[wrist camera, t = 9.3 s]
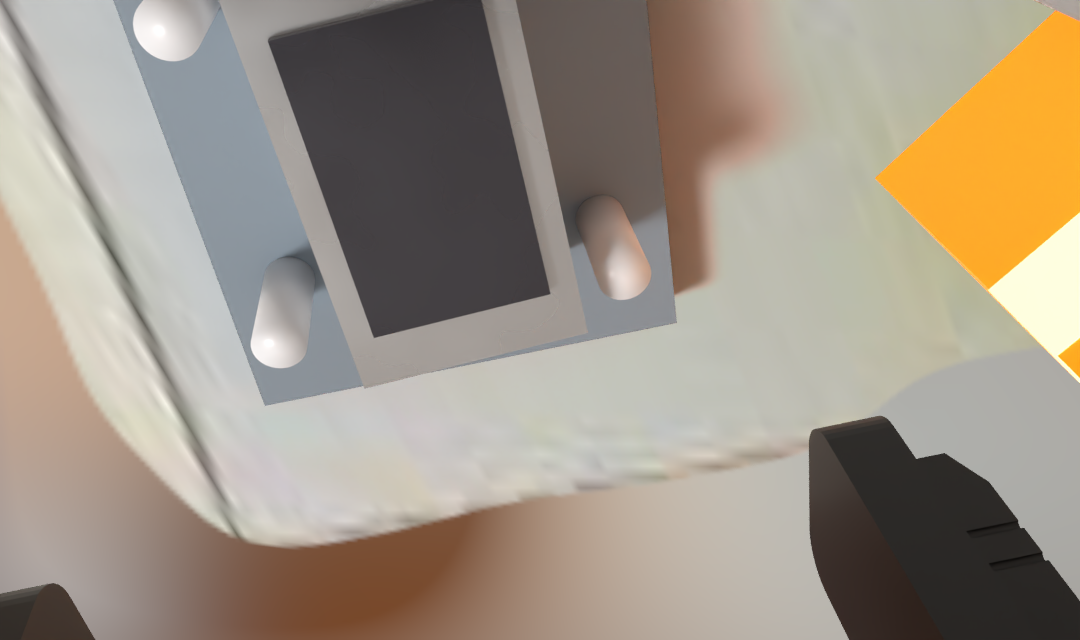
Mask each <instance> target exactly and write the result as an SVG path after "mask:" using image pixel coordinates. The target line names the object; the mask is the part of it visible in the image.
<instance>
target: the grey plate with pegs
mask: <svg viewBox="0 0 1080 640" xmlns="http://www.w3.org/2000/svg"><path fill="white" fill-rule="evenodd" d="M113 1H114V3H115V6H116V9H117V11H118V14H119V17H120V19H121V22H122V25H123V27H124V30H125V33H126V35H127V38H128V41H129V44H130V46H131V49H132V52H133V54H134V57H135V60H136V62H137V65H138V68H139V70H140V73H141V76H142V78H143V81H144V84H145V86H146V89H147V92H148V94H149V97H150V100H151V102H152V105H153V108H154V110H155V113H156V116H157V118H158V121H159V124H160V126H161V129H162V132H163V134H164V137H165V140H166V142H167V145H168V148H169V150H170V153H171V156H172V158H173V161H174V164H175V166H176V169H177V172H178V175H179V177H180V180H181V183H182V185H183V188H184V191H185V193H186V196H187V199H188V201H189V204H190V207H191V209H192V212H193V215H194V217H195V220H196V223H197V225H198V228H199V231H200V233H201V236H202V239H203V241H204V244H205V247H206V249H207V252H208V255H209V257H210V260H211V263H212V265H213V268H214V271H215V273H216V276H217V279H218V281H219V284H220V287H221V289H222V292H223V295H224V297H225V300H226V303H227V306H228V308H229V311H230V314H231V316H232V319H233V322H234V324H235V327H236V330H237V332H238V335H239V338H240V340H241V343H242V346H243V348H244V351H245V354H246V356H247V359H248V362H249V364H250V367H251V370H252V372H253V375H254V378H255V380H256V383H257V386H258V388H259V391H260V394H261V396H262V399H263V402H264V404H265V406H266V405H271V404H276V403H281V402H286V401H291V400H296V399H301V398H306V397H311V396H316V395H321V394H326V393H331V392H336V391H341V390H346V389H351V388H356V387H361V386H363V383H362V381H361V378H360V375H359V373H358V370H357V367H356V365H355V362H354V359H353V357H352V354H351V351H350V349H349V346H348V343H347V341H346V338H345V336H344V333H343V330H342V328H341V325H340V322H339V320H338V317H337V314H336V312H335V309H334V306H333V304H332V301H331V298H330V296H329V293H328V290H327V288H326V285H325V282H324V280H323V277H322V274H321V272H320V269H319V266H318V264H317V261H316V258H315V256H314V253H313V250H312V248H311V245H310V242H309V240H308V237H307V234H306V232H305V229H304V226H303V224H302V221H301V218H300V216H299V213H298V210H297V208H296V205H295V202H294V200H293V197H292V194H291V192H290V189H289V186H288V184H287V181H286V178H285V176H284V173H283V170H282V168H281V165H280V163H279V160H278V157H277V155H276V152H275V149H274V147H273V144H272V141H271V139H270V136H269V133H268V131H267V128H266V125H265V123H264V120H263V117H262V115H261V112H260V109H259V107H258V104H257V101H256V99H255V96H254V93H253V91H252V88H251V85H250V83H249V80H248V77H247V75H246V72H245V69H244V67H243V64H242V61H241V59H240V56H239V53H238V51H237V48H236V45H235V43H234V40H233V37H232V35H231V32H230V29H229V27H228V24H227V21H226V19H225V16H224V13H223V11H222V8H221V5H220V3H219V0H113ZM516 4H517V9H518V13H519V18H520V22H521V27H522V32H523V36H524V41H525V45H526V50H527V55H528V59H529V64H530V68H531V73H532V78H533V82H534V87H535V91H536V96H537V101H538V105H539V110H540V114H541V119H542V124H543V128H544V133H545V137H546V142H547V147H548V151H549V156H550V160H551V165H552V170H553V174H554V179H555V183H556V188H557V193H558V197H559V202H560V206H561V211H562V216H563V220H564V225H565V229H566V234H567V239H568V243H569V248H570V252H571V257H572V262H573V266H574V271H575V275H576V280H577V285H578V289H579V294H580V298H581V303H582V308H583V312H584V317H585V321H586V326H587V331H588V333H586V334H582V335H578V336H574V337H569V338H565V339H561V340H557V341H553V342H549V343H545V344H541V345H537V346H533V347H529V348H525V349H521V350H517V351H513V352H509V353H505V354H501V355H497V356H493V357H489V358H485V359H481V360H477V361H473V362H469V363H465V364H461V365H457V366H453V367H449V368H445V369H450V368H455V367H460V366H465V365H470V364H475V363H480V362H485V361H490V360H495V359H500V358H505V357H509V356H514V355H519V354H524V353H529V352H534V351H539V350H544V349H549V348H554V347H559V346H564V345H569V344H574V343H579V342H584V341H589V340H594V339H599V338H604V337H609V336H614V335H619V334H624V333H629V332H633V331H638V330H643V329H648V328H653V327H658V326H663V325H668V324H673V323H677V321H676V311H675V300H674V289H673V278H672V268H671V257H670V246H669V236H668V225H667V214H666V204H665V193H664V182H663V172H662V161H661V150H660V140H659V129H658V118H657V108H656V97H655V86H654V76H653V65H652V54H651V44H650V33H649V22H648V12H647V1H646V0H516ZM445 369H441V370H445ZM437 371H440V370H437ZM433 372H435V371H433ZM429 373H430V372H429Z"/></svg>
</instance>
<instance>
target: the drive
mask: <svg viewBox="0 0 1080 640" xmlns="http://www.w3.org/2000/svg"><path fill="white" fill-rule="evenodd" d="M219 3H220V5H221V8H222V11H223V13H224V16H225V19H226V21H227V24H228V27H229V29H230V32H231V35H232V37H233V40H234V43H235V45H236V48H237V51H238V53H239V56H240V59H241V61H242V64H243V67H244V69H245V72H246V75H247V77H248V80H249V83H250V85H251V88H252V91H253V93H254V96H255V99H256V101H257V104H258V107H259V109H260V112H261V115H262V117H263V120H264V123H265V125H266V128H267V131H268V133H269V136H270V139H271V141H272V144H273V147H274V149H275V152H276V155H277V157H278V160H279V163H280V165H281V168H282V170H283V173H284V176H285V178H286V181H287V184H288V186H289V189H290V192H291V194H292V197H293V200H294V202H295V205H296V208H297V210H298V213H299V216H300V218H301V221H302V224H303V226H304V229H305V232H306V234H307V237H308V240H309V242H310V245H311V248H312V250H313V253H314V256H315V258H316V261H317V264H318V266H319V269H320V272H321V274H322V277H323V280H324V282H325V285H326V288H327V290H328V293H329V296H330V298H331V301H332V304H333V306H334V309H335V312H336V314H337V317H338V320H339V322H340V325H341V328H342V330H343V333H344V336H345V338H346V341H347V343H348V346H349V349H350V351H351V354H352V357H353V359H354V362H355V365H356V367H357V370H358V373H359V375H360V378H361V381H362V383H363V386H364V388H368V387H372V386H376V385H380V384H384V383H388V382H392V381H396V380H400V379H404V378H408V377H413V376H417V375H421V374H425V373H429V372H433V371H437V370H441V369H445V368H449V367H453V366H457V365H461V364H465V363H469V362H473V361H477V360H481V359H485V358H489V357H493V356H497V355H501V354H505V353H509V352H513V351H517V350H521V349H525V348H529V347H533V346H537V345H541V344H545V343H549V342H553V341H557V340H561V339H565V338H569V337H574V336H578V335H582V334H586V333H588V331H587V326H586V321H585V317H584V312H583V308H582V303H581V298H580V294H579V289H578V285H577V280H576V275H575V271H574V266H573V262H572V257H571V252H570V248H569V243H568V239H567V234H566V229H565V225H564V220H563V216H562V211H561V206H560V202H559V197H558V193H557V188H556V183H555V179H554V174H553V170H552V165H551V160H550V156H549V151H548V147H547V142H546V137H545V133H544V128H543V124H542V119H541V114H540V110H539V105H538V101H537V96H536V91H535V87H534V82H533V78H532V73H531V68H530V64H529V59H528V55H527V50H526V45H525V41H524V36H523V32H522V27H521V22H520V18H519V13H518V9H517V4H516V0H219Z"/></svg>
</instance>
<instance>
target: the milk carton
mask: <svg viewBox="0 0 1080 640" xmlns="http://www.w3.org/2000/svg"><path fill="white" fill-rule="evenodd" d="M1034 1H1036V2H1039V3H1041V4H1043V5H1045V6H1047V7H1049V8H1052V9H1054V10H1056V11H1058V12H1060V13H1062V14H1065V15H1067V16H1069V17H1071V18H1073V19H1075V20H1077V21H1080V0H1034Z"/></svg>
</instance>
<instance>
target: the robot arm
mask: <svg viewBox="0 0 1080 640" xmlns="http://www.w3.org/2000/svg"><path fill="white" fill-rule="evenodd" d="M809 499H810V500H809V501H810V502H809V505H810V506H809V508H810V539H811V546H812V551H813V556H814V559H815V564H816V567H817V571H818V574H819V576H820V579H821V582H822V584H823V587H824V589H825V591H826V593H827V596H828V598H829V599H830V601H831V604H832V606H833V608H834V610H835V612H836V614H837V616H838V618H839V620H840V622H841V624H842V626H843V628H844V630H845V632H846V634H847V636H848V638H849V640H1080V601H1079V599H1078V598H1077V597H1076V595H1075V594H1074V593H1073V592H1072V590H1071V589H1070V588H1069V586H1068V585H1067V584H1066V582H1065V581H1064V580H1063V578H1062V577H1061V576H1060V574H1059V573H1058V572H1057V571H1056V569H1055V568H1054V567H1053V565H1052V564H1051V563H1050V561H1048V560H1047V561H1045V560H1044V558H1043V555H1042V551H1041V550H1040V548H1039V547H1038V546H1037V544H1036V543H1035V542H1034V540H1033V539H1032V538H1031V537H1030V535H1029V534H1028V533H1027V531H1026V530H1025V529H1024V528H1020V526H1019V524H1018V519H1017V518H1016V517H1015V516H1014V515H1013V513H1012V512H1011V510H1010V509H1009V508H1008V506H1007V505H1006V504H1005V503H1004V501H1003V500H1002V498H1001V497H1000V496H999V495H998V493H997V492H996V491H995V490H994V488H993V487H992V485H991V484H990V483H989V482H988V481H987V480H985V479H983V478H982V477H980V476H979V475H977V474H976V473H974V472H973V471H971V470H969V469H968V468H966V467H965V466H963V465H962V464H960V463H959V462H957V461H956V460H954V459H953V458H951V457H950V456H948V455H947V454H945V453H943V454H939V455H934V456H929V457H924V458H919V459H916V458H915V457H914V455H913V454H912V452H911V451H910V449H909V448H908V446H907V445H906V444H905V442H904V441H903V439H902V438H901V436H900V435H899V433H898V432H897V431H896V429H895V428H894V426H893V425H892V424H891V422H890V421H889V420H888V419H887V418H885V417H883V416H876V417H871V418H867V419H862V420H857V421H852V422H847V423H842V424H837V425H832V426H828V427H823V428H818V429H814V430H812V432H811V434H810V439H809ZM0 640H95V639H94V637H93V635H92V634H91V632H90V630H89V629H88V627H87V625H86V623H85V622H84V620H83V618H82V616H81V615H80V613H79V612H78V610H77V608H76V606H75V605H74V603H73V601H72V599H71V598H70V596H69V595H68V593H67V592H66V590H65V589H64V588H63V587H61V586H60V585H58V584H54V583H52V584H46V585H41V586H36V587H32V588H26V589H21V590H17V591H12V592H7V593H2V594H0Z"/></svg>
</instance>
